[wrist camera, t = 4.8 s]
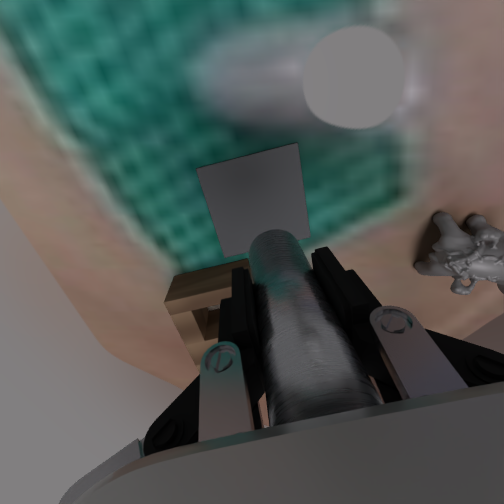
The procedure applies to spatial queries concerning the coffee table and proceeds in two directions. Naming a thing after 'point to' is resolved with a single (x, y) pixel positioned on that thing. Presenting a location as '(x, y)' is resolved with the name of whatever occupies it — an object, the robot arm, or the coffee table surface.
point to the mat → (255, 197)
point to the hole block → (200, 305)
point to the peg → (302, 337)
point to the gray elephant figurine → (466, 253)
